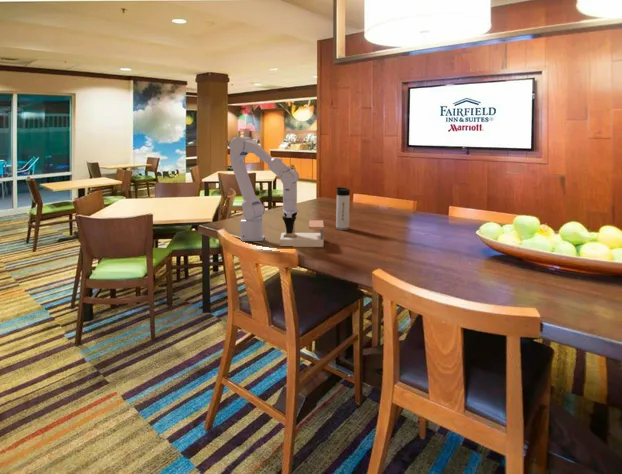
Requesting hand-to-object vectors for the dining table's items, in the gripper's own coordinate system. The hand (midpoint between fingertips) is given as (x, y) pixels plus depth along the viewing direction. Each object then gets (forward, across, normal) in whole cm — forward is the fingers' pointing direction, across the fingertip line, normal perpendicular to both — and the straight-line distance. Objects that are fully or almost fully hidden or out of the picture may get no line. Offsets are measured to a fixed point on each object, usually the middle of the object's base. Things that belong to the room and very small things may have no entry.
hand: (289, 231), depth 181 cm
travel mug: (+5, +28, -24) cm, 37 cm away
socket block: (+5, 0, -5) cm, 7 cm away
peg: (+5, 0, 0) cm, 5 cm away
